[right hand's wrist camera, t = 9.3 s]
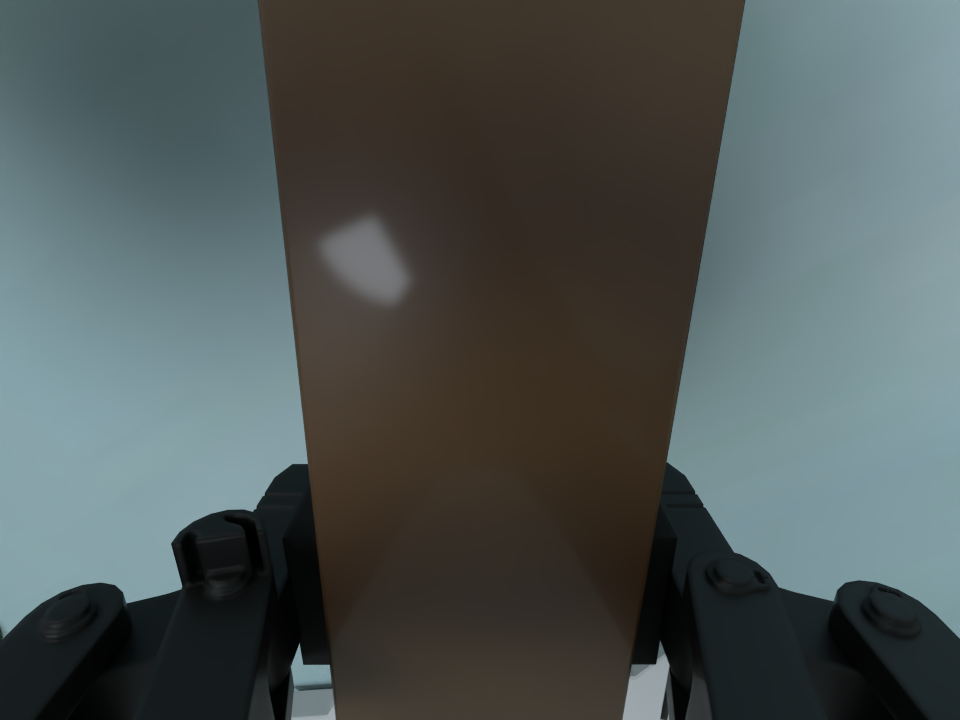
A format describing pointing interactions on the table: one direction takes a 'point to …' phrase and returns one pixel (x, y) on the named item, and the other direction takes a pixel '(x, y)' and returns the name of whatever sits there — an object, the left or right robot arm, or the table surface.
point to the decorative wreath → (640, 713)
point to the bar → (491, 328)
